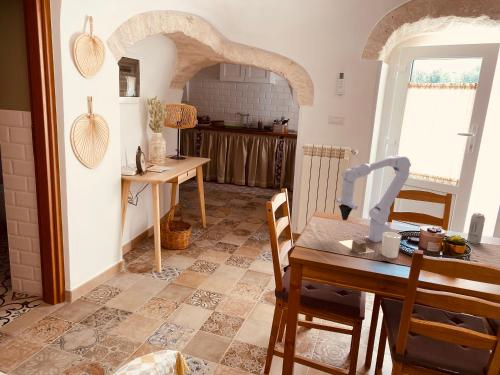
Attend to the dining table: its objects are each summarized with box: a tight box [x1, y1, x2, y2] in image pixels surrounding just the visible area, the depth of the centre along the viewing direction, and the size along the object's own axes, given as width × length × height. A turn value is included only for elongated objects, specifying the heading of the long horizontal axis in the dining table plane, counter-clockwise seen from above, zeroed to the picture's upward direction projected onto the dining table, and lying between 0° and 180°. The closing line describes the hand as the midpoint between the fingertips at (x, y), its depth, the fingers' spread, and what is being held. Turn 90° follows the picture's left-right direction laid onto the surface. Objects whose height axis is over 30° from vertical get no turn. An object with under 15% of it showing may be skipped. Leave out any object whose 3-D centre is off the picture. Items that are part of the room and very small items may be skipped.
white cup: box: [381, 231, 402, 259], centre depth 172 cm, size 8×8×10 cm
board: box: [338, 239, 376, 255], centre depth 181 cm, size 9×16×1 cm, turn 24°
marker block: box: [351, 238, 368, 254], centre depth 176 cm, size 4×4×4 cm
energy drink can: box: [467, 212, 486, 245], centre depth 195 cm, size 6×6×15 cm
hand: (344, 219), depth 190 cm, fingers closed
